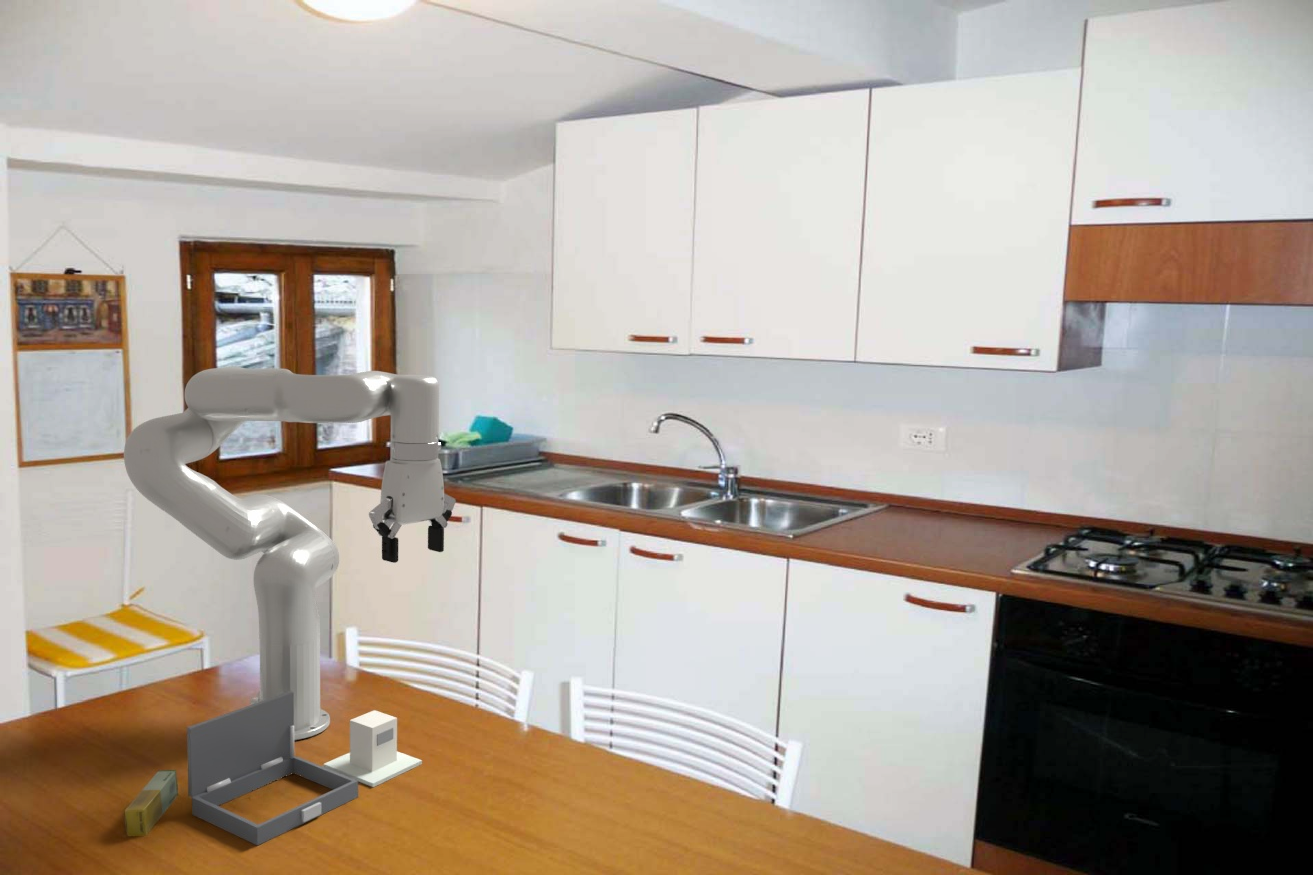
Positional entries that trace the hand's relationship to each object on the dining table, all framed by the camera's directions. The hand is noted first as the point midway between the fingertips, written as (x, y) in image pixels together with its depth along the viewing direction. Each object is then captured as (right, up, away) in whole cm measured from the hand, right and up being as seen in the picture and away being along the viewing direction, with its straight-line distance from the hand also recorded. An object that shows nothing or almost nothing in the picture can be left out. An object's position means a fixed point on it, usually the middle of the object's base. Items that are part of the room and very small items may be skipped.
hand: (413, 555), depth 172 cm
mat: (-5, -32, -8) cm, 33 cm away
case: (-15, -33, -21) cm, 42 cm away
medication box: (-31, -34, -25) cm, 52 cm away
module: (-4, -31, -8) cm, 32 cm away
